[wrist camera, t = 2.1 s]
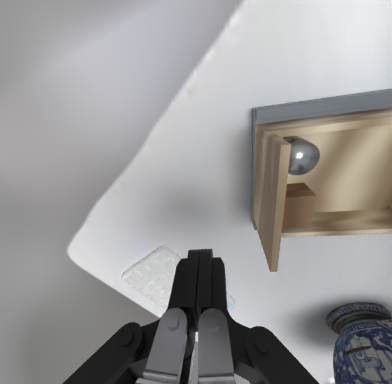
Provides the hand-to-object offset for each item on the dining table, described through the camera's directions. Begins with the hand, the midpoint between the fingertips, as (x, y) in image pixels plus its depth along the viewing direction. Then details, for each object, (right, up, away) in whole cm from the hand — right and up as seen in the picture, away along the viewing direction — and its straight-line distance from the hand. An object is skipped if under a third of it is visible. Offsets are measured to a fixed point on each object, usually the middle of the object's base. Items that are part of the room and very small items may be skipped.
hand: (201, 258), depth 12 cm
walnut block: (+10, +4, +10) cm, 15 cm away
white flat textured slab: (-4, -14, +25) cm, 29 cm away
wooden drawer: (+15, +7, +9) cm, 18 cm away
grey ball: (+10, +9, +7) cm, 15 cm away
